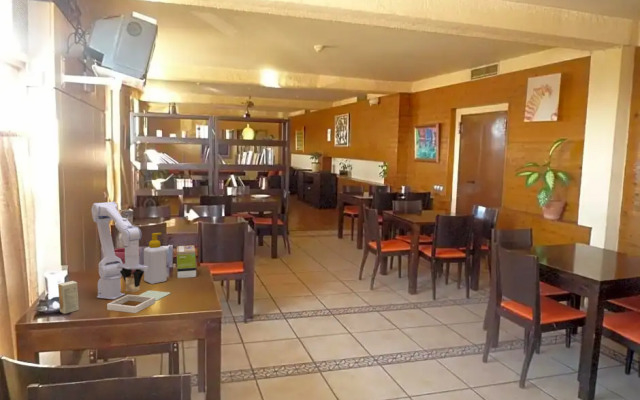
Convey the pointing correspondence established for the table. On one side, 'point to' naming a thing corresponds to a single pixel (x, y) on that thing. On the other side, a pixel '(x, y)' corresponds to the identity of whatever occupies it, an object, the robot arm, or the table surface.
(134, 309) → the white bin
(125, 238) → the robot arm
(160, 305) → the table surface
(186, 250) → the tea box
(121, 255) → the plant pot
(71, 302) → the skincare box
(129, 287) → the birch block
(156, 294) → the sage tile
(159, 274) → the soap bottle
